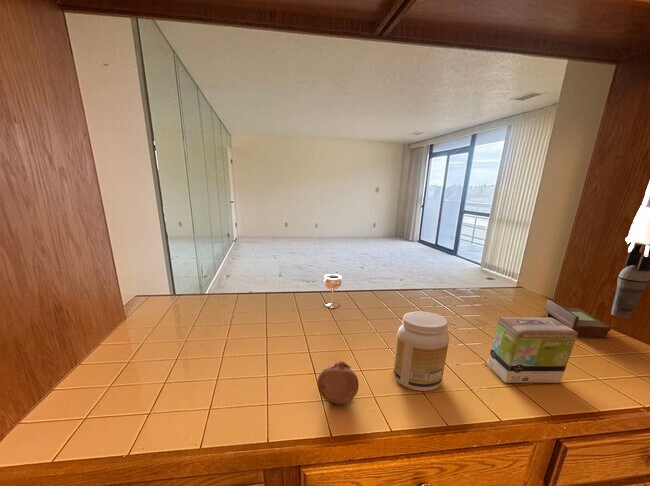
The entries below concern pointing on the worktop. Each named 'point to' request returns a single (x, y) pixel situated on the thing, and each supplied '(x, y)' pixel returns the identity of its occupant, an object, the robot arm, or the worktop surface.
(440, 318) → the supplement tub
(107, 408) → the worktop surface
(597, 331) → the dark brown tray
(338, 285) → the wineglass
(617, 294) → the beverage cup
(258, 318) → the worktop surface
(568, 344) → the tea box
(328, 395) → the onion
